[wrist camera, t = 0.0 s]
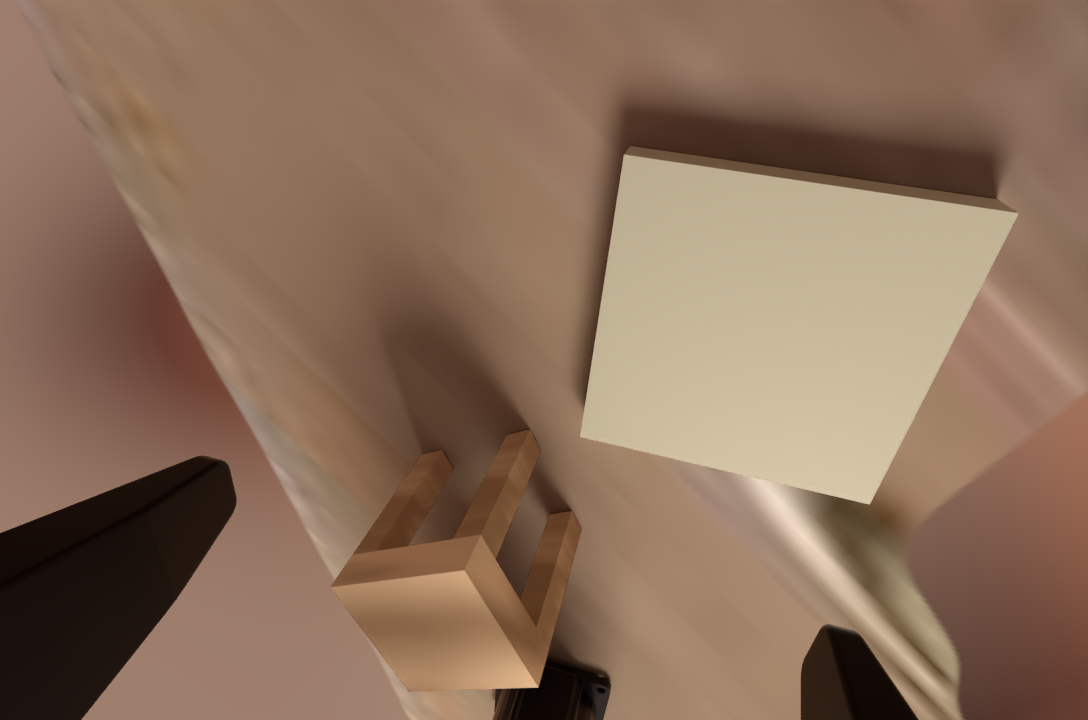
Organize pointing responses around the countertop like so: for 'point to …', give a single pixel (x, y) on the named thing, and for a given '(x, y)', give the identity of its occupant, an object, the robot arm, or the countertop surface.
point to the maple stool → (460, 582)
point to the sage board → (779, 315)
